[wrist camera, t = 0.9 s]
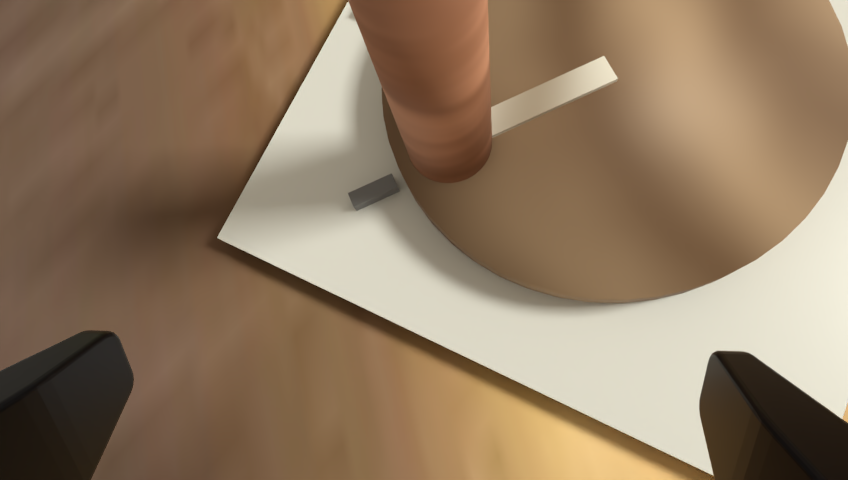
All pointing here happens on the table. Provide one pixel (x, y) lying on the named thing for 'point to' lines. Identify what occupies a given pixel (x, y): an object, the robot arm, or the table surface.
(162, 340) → the table surface
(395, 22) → the dial
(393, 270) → the dial plate
